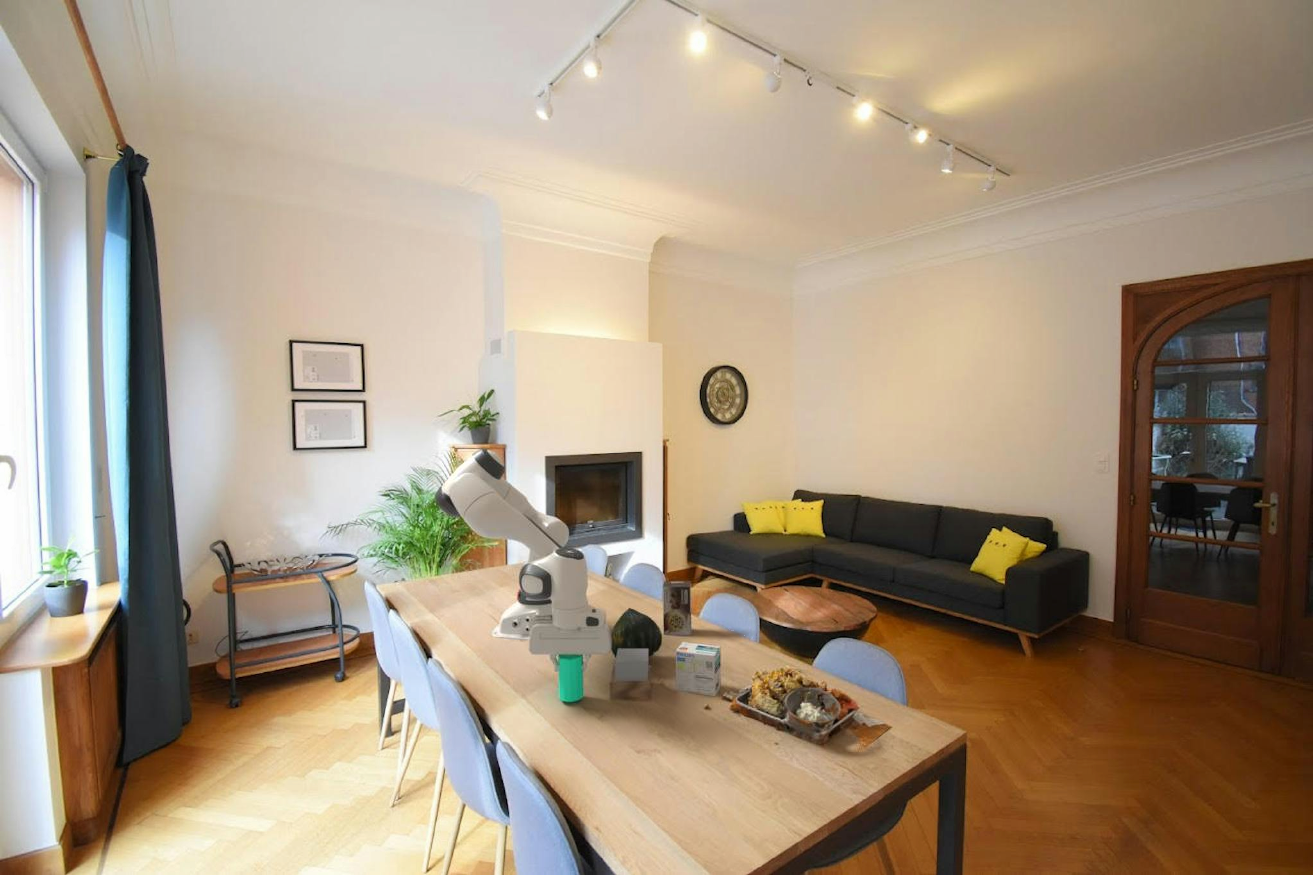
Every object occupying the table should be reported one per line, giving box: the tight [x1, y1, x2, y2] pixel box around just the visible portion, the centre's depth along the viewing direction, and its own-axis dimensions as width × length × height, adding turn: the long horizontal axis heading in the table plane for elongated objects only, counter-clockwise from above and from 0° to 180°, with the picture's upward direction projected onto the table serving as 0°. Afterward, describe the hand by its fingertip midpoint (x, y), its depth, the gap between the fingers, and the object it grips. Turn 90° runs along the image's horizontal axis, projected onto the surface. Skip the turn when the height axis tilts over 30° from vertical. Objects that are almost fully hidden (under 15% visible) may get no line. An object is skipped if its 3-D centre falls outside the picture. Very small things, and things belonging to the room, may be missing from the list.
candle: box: [557, 655, 584, 703], centre depth 144 cm, size 6×6×12 cm
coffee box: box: [662, 580, 693, 636], centre depth 191 cm, size 9×6×16 cm
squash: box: [610, 607, 663, 659], centre depth 166 cm, size 14×15×15 cm
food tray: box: [704, 665, 892, 762], centre depth 136 cm, size 35×26×11 cm
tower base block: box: [609, 665, 653, 701], centre depth 149 cm, size 10×10×5 cm
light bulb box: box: [675, 641, 722, 697], centre depth 151 cm, size 11×7×11 cm, turn 71°
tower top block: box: [614, 649, 650, 681], centre depth 149 cm, size 8×8×5 cm
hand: (570, 670), depth 144 cm, fingers closed on candle, 5 cm apart
